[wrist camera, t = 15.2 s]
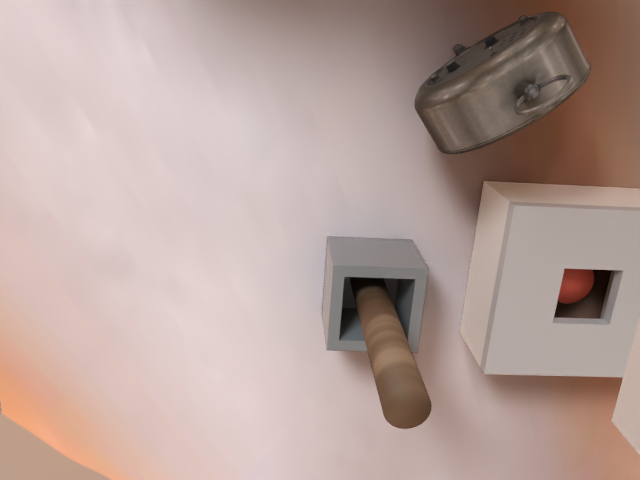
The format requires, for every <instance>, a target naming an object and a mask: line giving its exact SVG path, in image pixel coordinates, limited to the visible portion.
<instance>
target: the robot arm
mask: <svg viewBox="0 0 640 480" xmlns="http://www.w3.org/2000/svg"><path fill="white" fill-rule="evenodd" d="M1 411H2V410H1V403H0V413H1ZM612 422H613V424H614V425H615V426H616V427H617V428H618V430H619V431H620V432H621V433H622V435H623V436H624V437H625V438H626V439H627V441H628V442H629V443H630V444H631V446H632V447H633V448H634V449H635V450H636V452H637V453H638V454H639V455H640V318H639V322H638V325H637V329H636V333H635V336H634V340H633V344H632V347H631V351H630V355H629V358H628V362H627V366H626V369H625V373H624V377H623V380H622V384H621V388H620V391H619V395H618V399H617V402H616V406H615V410H614V413H613V417H612Z"/></svg>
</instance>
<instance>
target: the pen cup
mask: <svg viewBox="0 0 640 480" xmlns="http://www.w3.org/2000/svg"><path fill="white" fill-rule="evenodd" d="M428 270H429V268H428V267H427V265H426V263H425V262H424V260H423V258H422V256H421V255H420V253H419V251H418V250H417V248H416V246H415V245H414V243H413V241H412V240H404V239H379V238H354V237H329V236H327V247H326V261H325V275H324V289H323V303H322V319H323V327H324V334H325V341H326V349H327V350H334V351H367V347H366V343H365V339H364V335H363V331H362V327H361V323H360V319H359V315H358V311H357V308H356V304H355V300H354V296H353V292H352V288H351V284H350V279H351V277H366V278H383V279H384V282H385V284H386V287H387V289H388V292H389V294H390V297H391V300H392V302H393V305H394V307H395V310H396V313H397V315H398V318H399V320H400V323H401V326H402V328H403V331H404V333H405V336H406V339H407V341H408V344H409V346H410V349H411V351H412V352H414V353H417V351H418V344H419V336H420V329H421V322H422V314H423V307H424V300H425V292H426V285H427V277H428Z"/></svg>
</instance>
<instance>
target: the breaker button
mask: <svg viewBox="0 0 640 480" xmlns="http://www.w3.org/2000/svg"><path fill="white" fill-rule="evenodd" d="M593 283H594V273H593V271H592V269H567V268H565V269H564V273H563V278H562V283H561V287H560V292H559V296H558V302H560V303H574V302H577V301H579V300H581V299H582V298H584V297H585V296H586V295H587V294H588V293H589V292H590V290H591V289H592V286H593Z"/></svg>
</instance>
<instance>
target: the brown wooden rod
mask: <svg viewBox="0 0 640 480" xmlns="http://www.w3.org/2000/svg"><path fill="white" fill-rule="evenodd" d="M350 284H351V288H352V292H353V296H354V300H355V304H356V308H357V311H358V315H359V319H360V323H361V327H362V331H363V335H364V339H365V343H366V347H367V351H368V355H369V359H370V363H371V367H372V370H373V374H374V378H375V382H376V386H377V390H378V394H379V398H380V402H381V406H382V410H383V414H384V417H385V419H386V420H387V421H388V423H390V424H391V425H393V426H395V427H397V428H402V429H408V428H413V427H416V426H418V425H420V424H422V423H423V422H424V421H425V420H426V419H427V418H428V416H429V414H430V412H431V401H430V398H429V396H428V393H427V390H426V388H425V385H424V383H423V380H422V377H421V375H420V372H419V370H418V367H417V364H416V362H415V359H414V357H413V354H412V351H411V349H410V346H409V344H408V341H407V339H406V336H405V333H404V331H403V328H402V326H401V323H400V320H399V318H398V315H397V313H396V310H395V307H394V305H393V302H392V300H391V297H390V294H389V292H388V289H387V287H386V284H385V282H384V279H383V278H366V277H351V279H350Z"/></svg>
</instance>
